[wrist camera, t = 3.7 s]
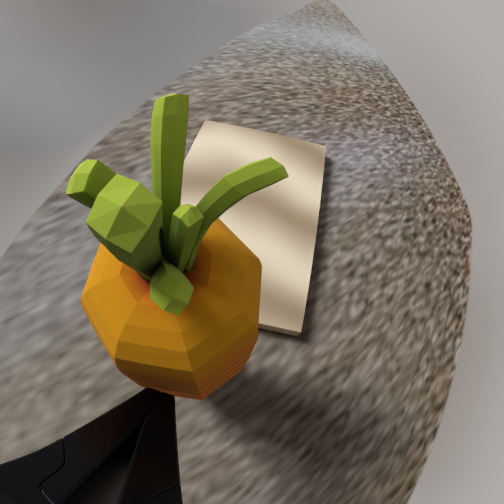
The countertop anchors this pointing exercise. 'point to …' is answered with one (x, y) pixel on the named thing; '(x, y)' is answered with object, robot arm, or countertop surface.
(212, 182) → the cutting board
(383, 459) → the countertop surface
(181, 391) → the carrot
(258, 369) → the countertop surface
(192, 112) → the countertop surface
